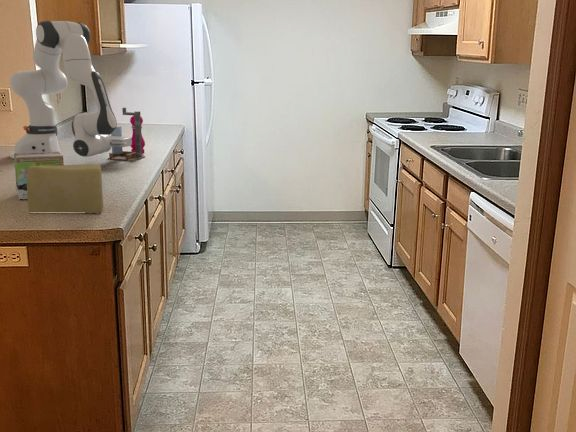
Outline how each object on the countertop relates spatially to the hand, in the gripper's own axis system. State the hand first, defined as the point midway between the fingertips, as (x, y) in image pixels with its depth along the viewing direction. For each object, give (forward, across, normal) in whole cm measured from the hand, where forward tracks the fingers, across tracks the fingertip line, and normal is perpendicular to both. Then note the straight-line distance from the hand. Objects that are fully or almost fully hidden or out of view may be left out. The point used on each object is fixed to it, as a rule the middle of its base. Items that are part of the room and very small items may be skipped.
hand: (117, 138), depth 279 cm
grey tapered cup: (-1, 0, +6) cm, 7 cm away
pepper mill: (+20, +1, +10) cm, 22 cm away
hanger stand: (+4, -2, +10) cm, 11 cm away
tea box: (-70, -10, +10) cm, 72 cm away
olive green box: (-86, -31, +10) cm, 92 cm away
